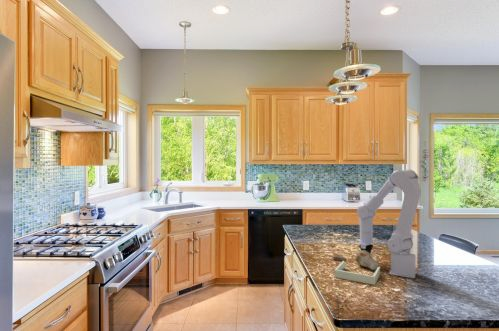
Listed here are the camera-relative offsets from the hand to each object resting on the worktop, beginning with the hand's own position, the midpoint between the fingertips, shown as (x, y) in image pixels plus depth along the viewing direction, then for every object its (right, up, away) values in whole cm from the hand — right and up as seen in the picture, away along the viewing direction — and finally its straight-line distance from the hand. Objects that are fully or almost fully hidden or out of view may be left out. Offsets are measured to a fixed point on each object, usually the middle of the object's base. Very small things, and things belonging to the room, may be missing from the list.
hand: (366, 260), depth 139 cm
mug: (-2, -1, -6) cm, 7 cm away
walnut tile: (-12, -2, +6) cm, 13 cm away
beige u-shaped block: (-10, -1, -16) cm, 19 cm away
